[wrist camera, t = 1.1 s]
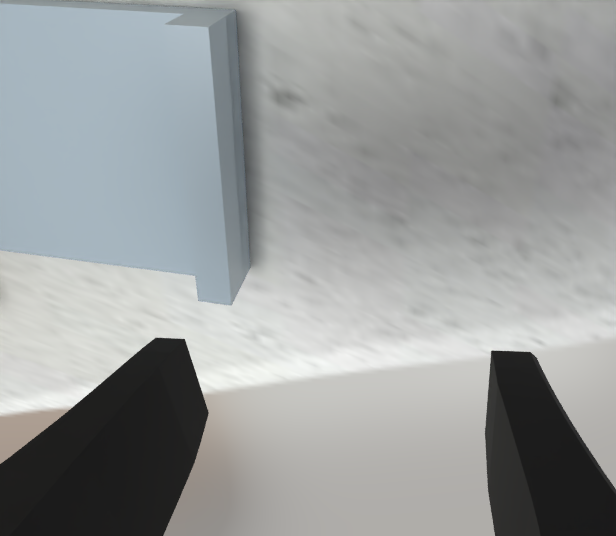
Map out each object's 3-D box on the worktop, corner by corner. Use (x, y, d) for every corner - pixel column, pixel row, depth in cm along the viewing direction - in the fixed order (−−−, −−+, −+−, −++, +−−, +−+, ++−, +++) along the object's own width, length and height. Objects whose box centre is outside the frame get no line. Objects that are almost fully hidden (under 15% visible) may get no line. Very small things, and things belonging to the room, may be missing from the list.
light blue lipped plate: (238, 7, 16) (208, 26, 14) (252, 263, 21) (231, 305, 19) (-94, -11, 18) (-165, 5, 16) (-6, 231, 23) (-51, 266, 21)
